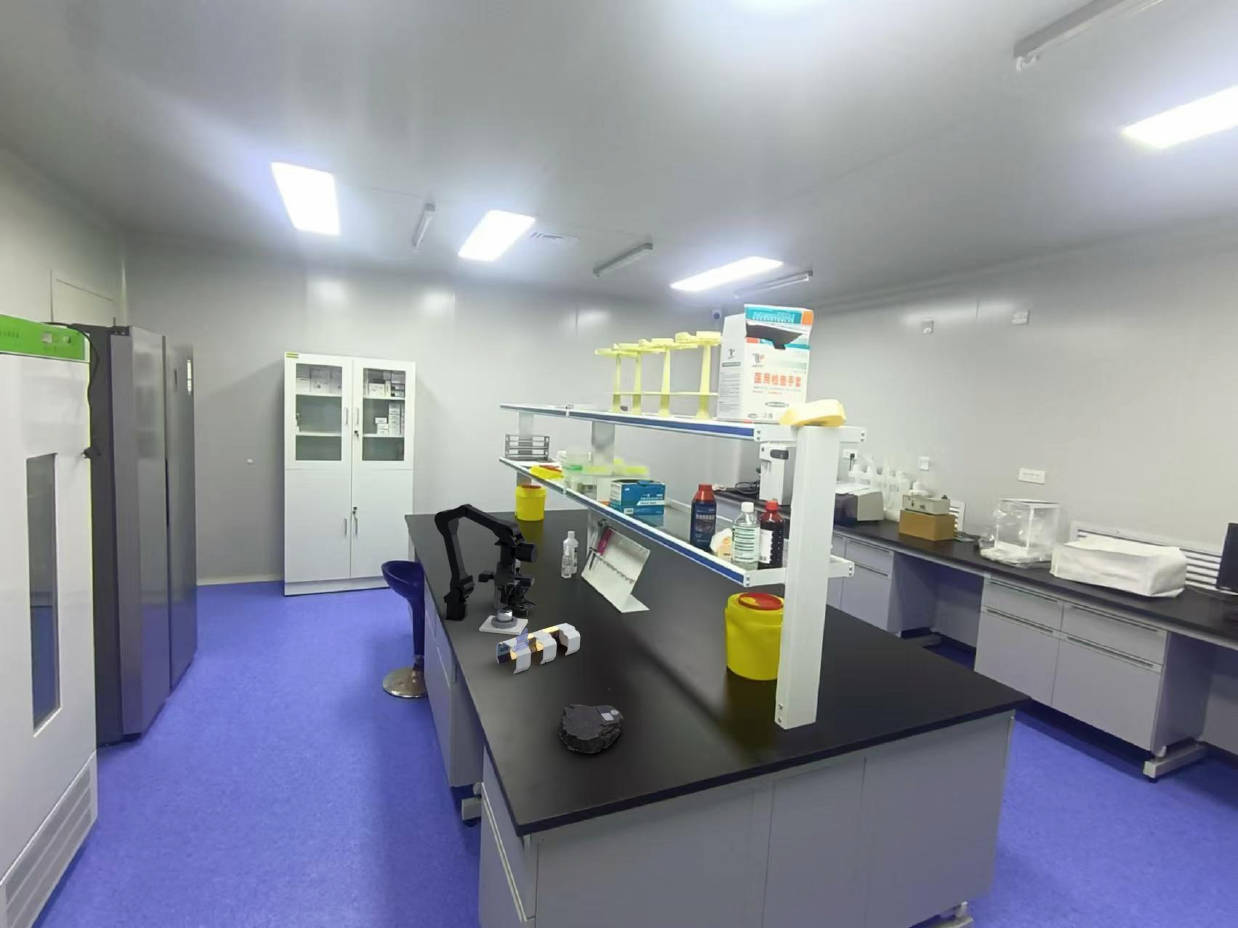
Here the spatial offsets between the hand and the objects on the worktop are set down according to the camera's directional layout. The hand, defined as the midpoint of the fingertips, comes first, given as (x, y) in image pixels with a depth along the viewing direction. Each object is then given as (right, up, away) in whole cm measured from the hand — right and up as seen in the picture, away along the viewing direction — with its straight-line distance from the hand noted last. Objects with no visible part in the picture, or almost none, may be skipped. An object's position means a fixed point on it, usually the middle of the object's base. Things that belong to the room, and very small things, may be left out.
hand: (505, 602), depth 196 cm
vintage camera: (+1, -8, +17) cm, 18 cm away
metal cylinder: (-1, -8, +1) cm, 8 cm away
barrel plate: (-1, -9, +1) cm, 9 cm away
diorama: (+15, -13, -21) cm, 29 cm away
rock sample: (+33, -18, -60) cm, 71 cm away
